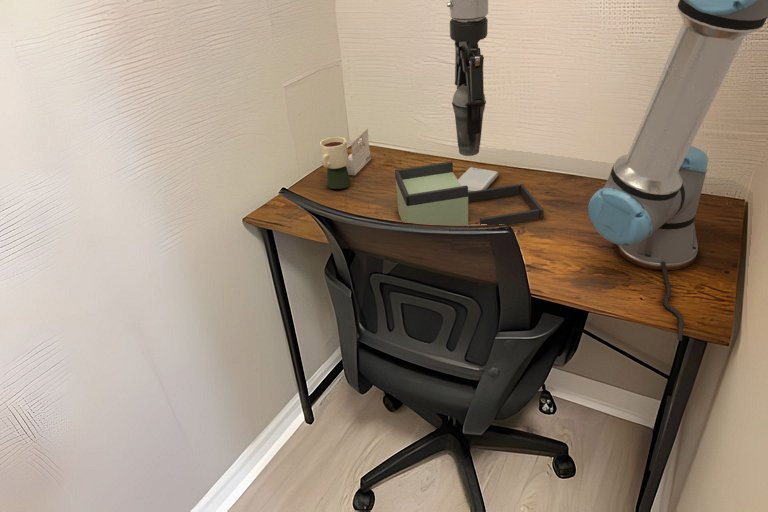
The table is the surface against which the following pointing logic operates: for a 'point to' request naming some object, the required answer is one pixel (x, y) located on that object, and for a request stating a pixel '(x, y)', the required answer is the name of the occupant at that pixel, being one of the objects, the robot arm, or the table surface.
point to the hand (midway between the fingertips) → (468, 126)
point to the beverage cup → (465, 123)
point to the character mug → (335, 161)
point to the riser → (451, 198)
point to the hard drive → (477, 179)
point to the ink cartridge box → (359, 154)
